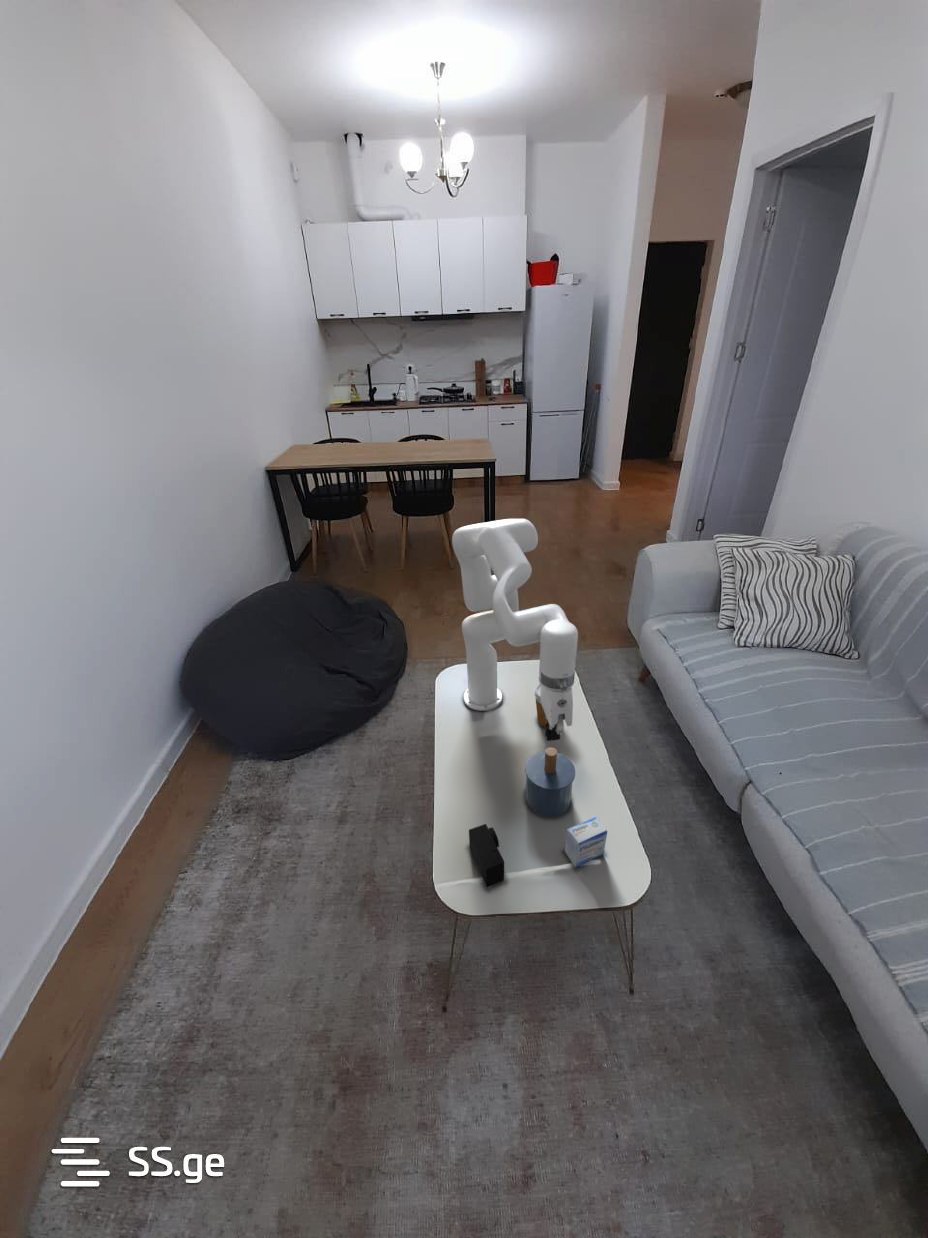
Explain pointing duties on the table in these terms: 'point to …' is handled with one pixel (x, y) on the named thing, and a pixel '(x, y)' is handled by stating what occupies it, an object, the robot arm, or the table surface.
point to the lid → (550, 770)
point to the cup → (548, 799)
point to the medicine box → (585, 841)
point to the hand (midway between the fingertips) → (552, 737)
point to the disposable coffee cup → (539, 707)
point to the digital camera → (487, 854)
